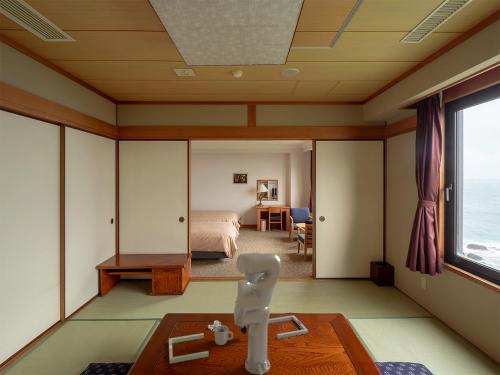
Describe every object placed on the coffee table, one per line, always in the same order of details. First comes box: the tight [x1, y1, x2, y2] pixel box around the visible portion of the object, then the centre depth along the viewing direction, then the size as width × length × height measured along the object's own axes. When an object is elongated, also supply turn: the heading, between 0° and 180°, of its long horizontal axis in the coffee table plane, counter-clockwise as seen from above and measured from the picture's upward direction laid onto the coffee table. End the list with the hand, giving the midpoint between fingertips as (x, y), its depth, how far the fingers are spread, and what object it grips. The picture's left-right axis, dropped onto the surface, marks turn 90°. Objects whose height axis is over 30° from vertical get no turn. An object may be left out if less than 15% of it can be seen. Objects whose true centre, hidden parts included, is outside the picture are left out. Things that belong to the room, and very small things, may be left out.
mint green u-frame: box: [168, 332, 209, 364], centre depth 151 cm, size 19×20×3 cm
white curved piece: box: [207, 320, 222, 332], centre depth 173 cm, size 9×8×4 cm
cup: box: [213, 324, 234, 346], centre depth 157 cm, size 11×8×8 cm
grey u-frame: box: [268, 315, 309, 340], centre depth 173 cm, size 19×20×3 cm
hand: (243, 332), depth 161 cm, fingers closed
